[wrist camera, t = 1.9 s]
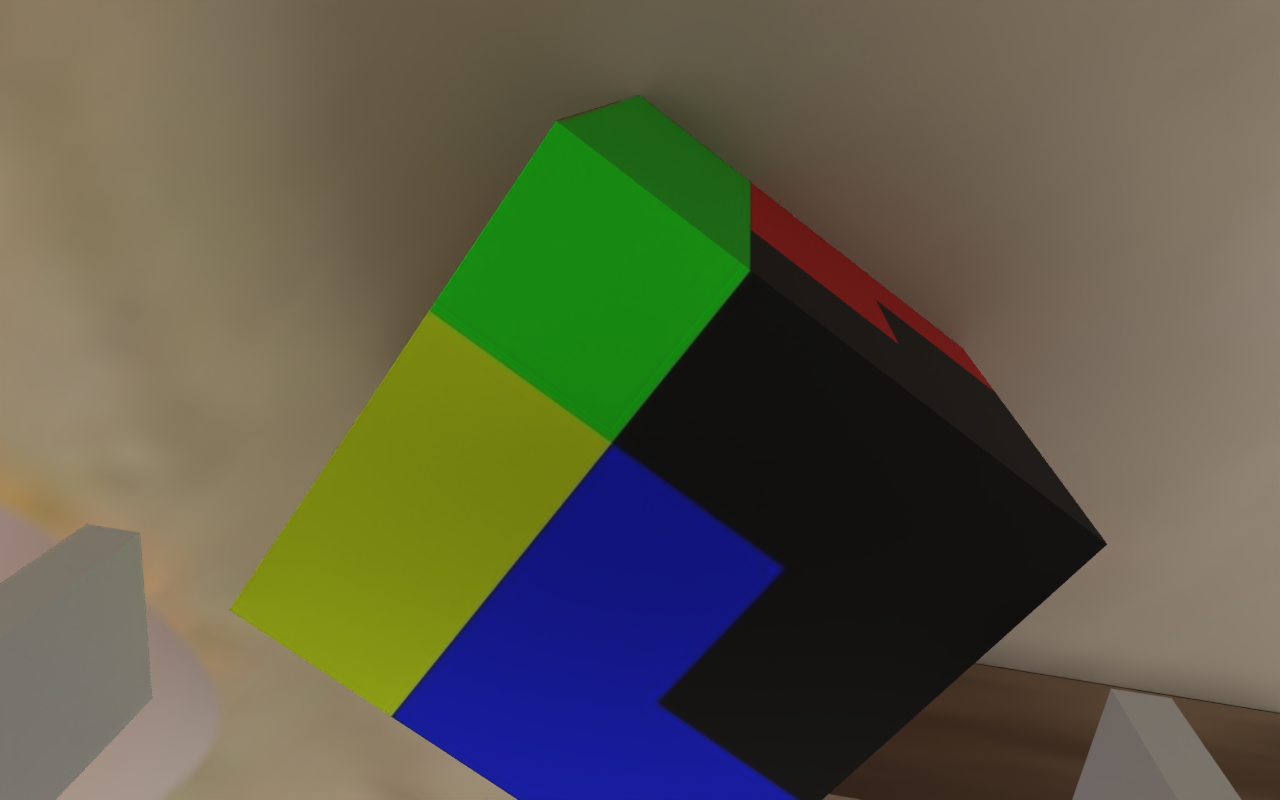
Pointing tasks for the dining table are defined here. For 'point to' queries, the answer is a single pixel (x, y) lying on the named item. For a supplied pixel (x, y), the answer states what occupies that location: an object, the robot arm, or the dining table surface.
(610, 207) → the puzzle toy
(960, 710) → the walnut plinth
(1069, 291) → the dining table surface
